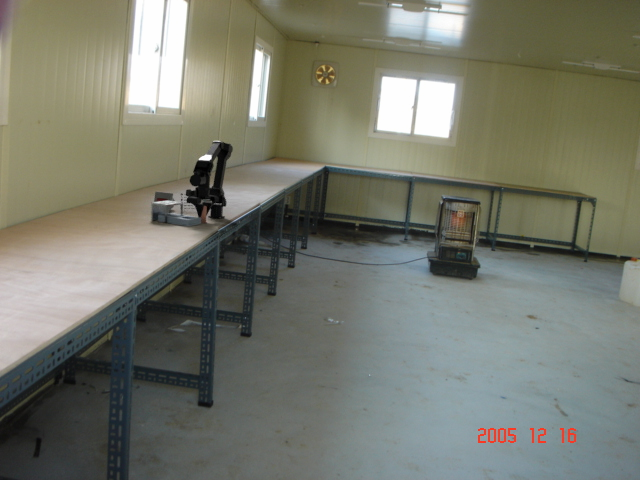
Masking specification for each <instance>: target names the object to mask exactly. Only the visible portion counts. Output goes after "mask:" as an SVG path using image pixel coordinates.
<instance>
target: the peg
mask: <svg viewBox="0 0 640 480" xmlns="http://www.w3.org/2000/svg"><path fill="white" fill-rule="evenodd" d="M206 213H207V206H204V208H203V211H202V215H201V217H200V218H201V224H206V223H207V216H206Z"/></svg>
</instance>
